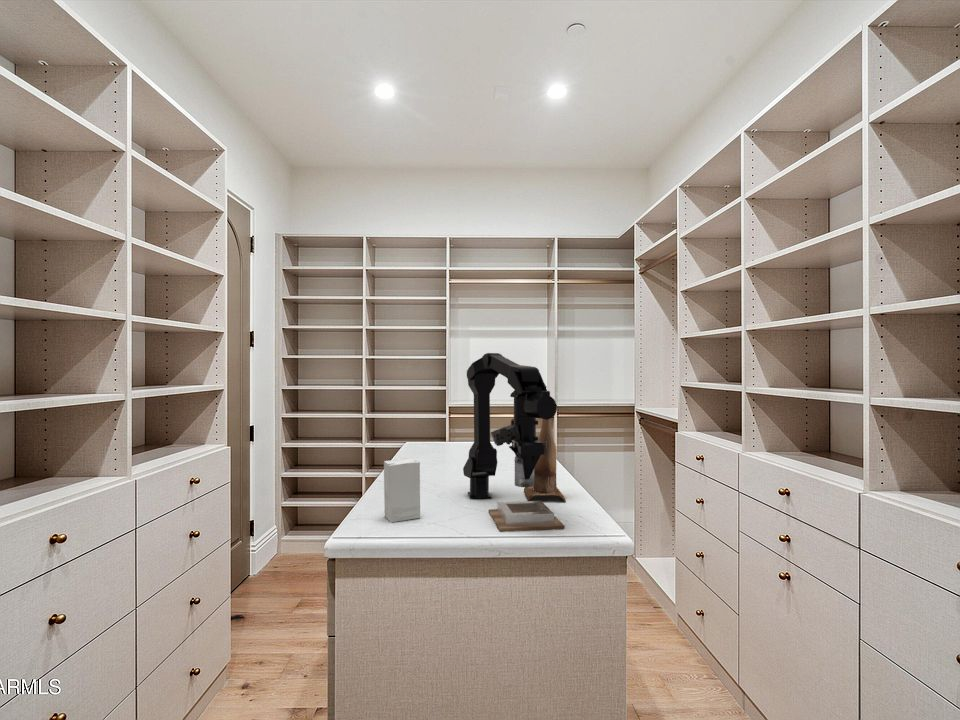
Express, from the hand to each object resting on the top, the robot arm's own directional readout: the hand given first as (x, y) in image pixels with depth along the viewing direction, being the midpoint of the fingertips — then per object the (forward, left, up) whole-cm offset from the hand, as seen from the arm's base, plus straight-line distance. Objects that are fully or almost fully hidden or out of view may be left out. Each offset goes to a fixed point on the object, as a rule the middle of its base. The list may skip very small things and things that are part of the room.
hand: (524, 476), depth 127 cm
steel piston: (0, 0, -2) cm, 2 cm away
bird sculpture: (-21, +11, -11) cm, 26 cm away
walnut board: (0, 0, -11) cm, 11 cm away
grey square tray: (0, 0, -11) cm, 11 cm away
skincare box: (-6, -31, -11) cm, 33 cm away
